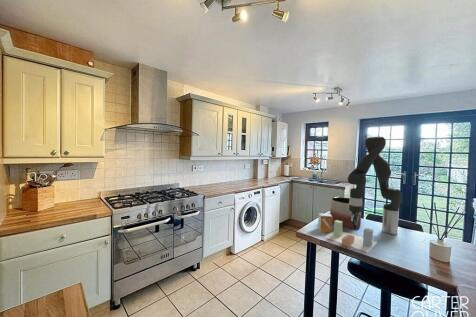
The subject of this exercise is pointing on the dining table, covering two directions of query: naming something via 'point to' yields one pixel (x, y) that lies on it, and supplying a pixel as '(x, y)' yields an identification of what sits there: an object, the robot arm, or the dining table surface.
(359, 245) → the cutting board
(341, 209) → the planter
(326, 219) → the small box
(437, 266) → the dining table surface
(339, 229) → the sage block
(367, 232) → the slate blue block
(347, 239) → the terracotta block
